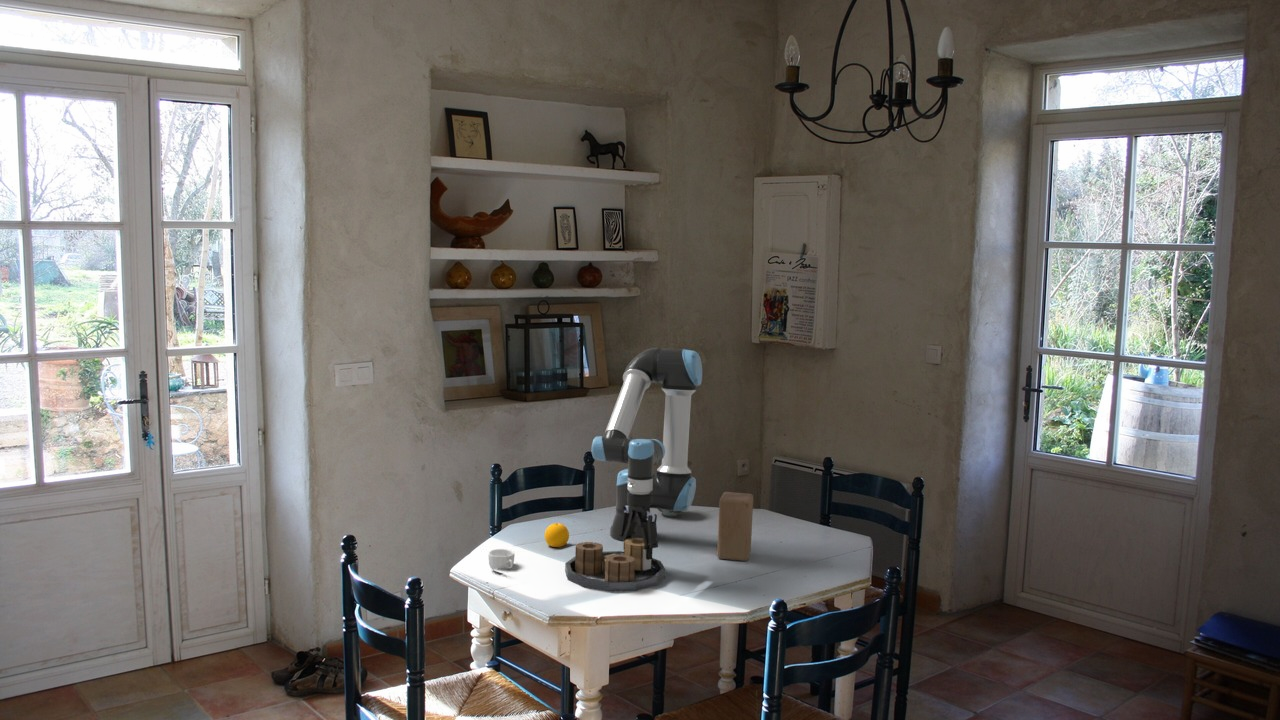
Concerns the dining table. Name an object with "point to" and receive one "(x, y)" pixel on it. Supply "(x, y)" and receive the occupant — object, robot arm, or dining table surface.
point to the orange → (556, 535)
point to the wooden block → (735, 526)
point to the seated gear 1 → (588, 558)
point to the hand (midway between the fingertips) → (637, 565)
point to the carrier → (598, 582)
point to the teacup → (501, 559)
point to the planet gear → (635, 550)
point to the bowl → (669, 512)
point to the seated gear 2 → (619, 568)
